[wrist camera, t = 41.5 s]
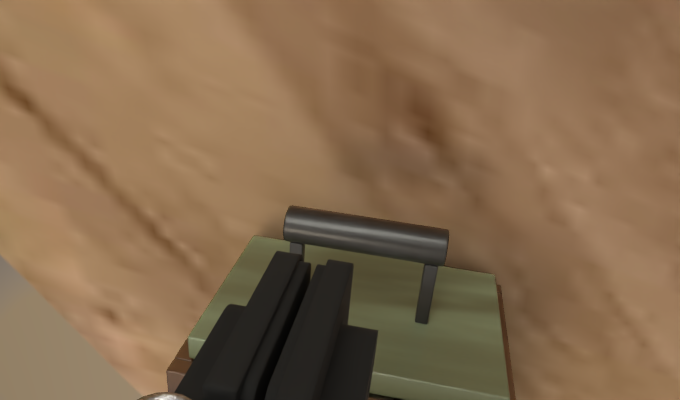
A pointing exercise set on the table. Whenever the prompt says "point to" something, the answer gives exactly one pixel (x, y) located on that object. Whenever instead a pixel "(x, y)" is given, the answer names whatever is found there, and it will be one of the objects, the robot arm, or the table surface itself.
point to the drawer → (391, 303)
